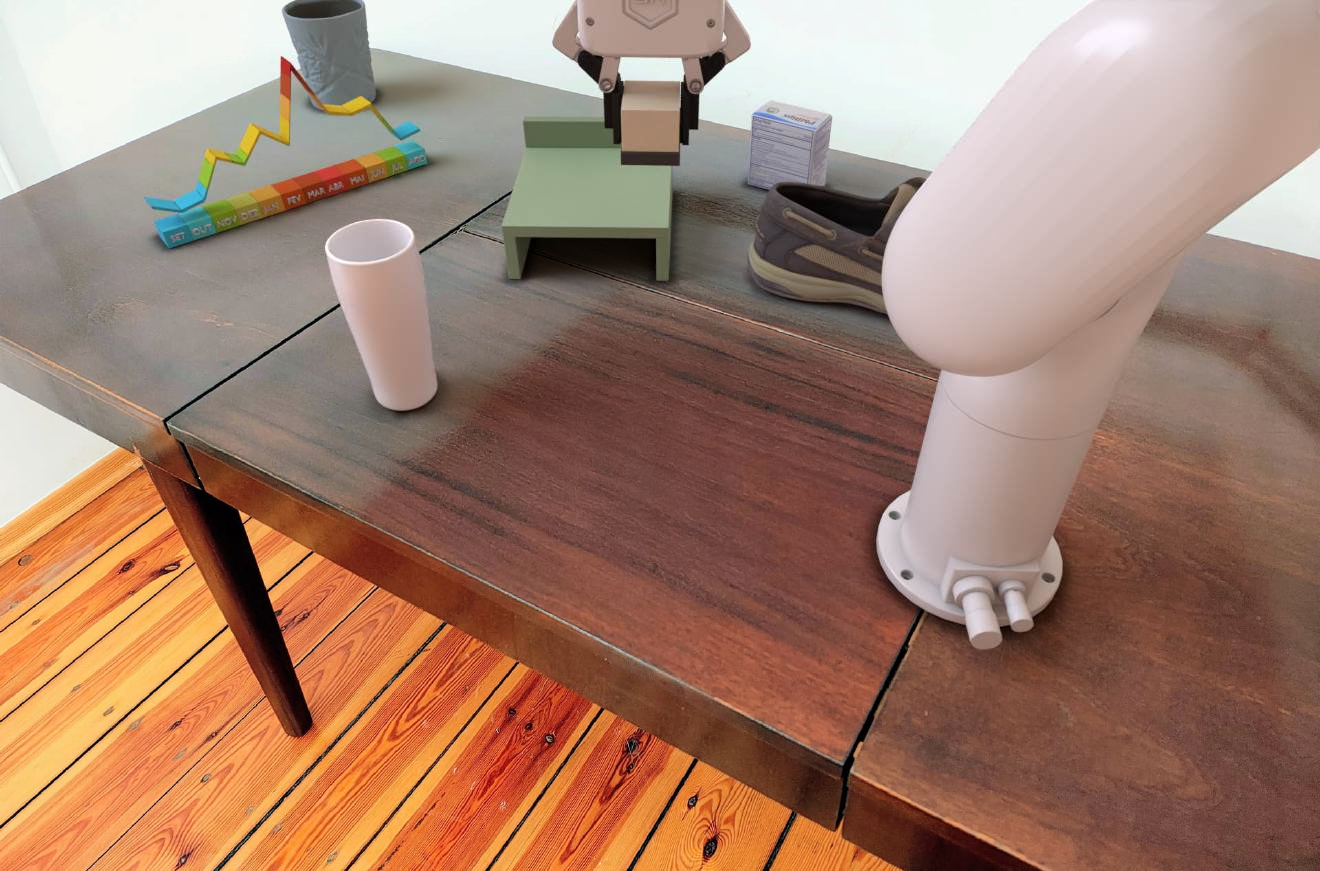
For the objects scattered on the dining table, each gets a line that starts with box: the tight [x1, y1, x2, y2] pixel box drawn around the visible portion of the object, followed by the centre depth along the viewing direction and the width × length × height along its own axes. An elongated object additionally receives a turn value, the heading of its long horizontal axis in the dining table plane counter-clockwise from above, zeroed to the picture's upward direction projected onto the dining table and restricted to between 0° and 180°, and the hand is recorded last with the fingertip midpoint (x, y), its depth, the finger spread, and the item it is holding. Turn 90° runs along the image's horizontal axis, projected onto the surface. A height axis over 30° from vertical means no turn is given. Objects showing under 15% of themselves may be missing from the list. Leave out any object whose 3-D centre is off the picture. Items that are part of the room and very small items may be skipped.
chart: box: [143, 55, 428, 249], centre depth 101 cm, size 30×3×15 cm, turn 129°
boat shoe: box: [746, 176, 927, 316], centre depth 87 cm, size 11×29×11 cm, turn 78°
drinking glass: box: [324, 218, 439, 412], centre depth 75 cm, size 7×7×15 cm
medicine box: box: [747, 100, 833, 191], centre depth 104 cm, size 8×4×9 cm, turn 58°
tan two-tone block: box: [621, 79, 681, 167], centre depth 71 cm, size 8×4×4 cm, turn 179°
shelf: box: [501, 116, 674, 282], centre depth 96 cm, size 18×16×9 cm
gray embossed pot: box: [281, 0, 377, 111], centre depth 122 cm, size 10×10×12 cm
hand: (651, 134), depth 72 cm, fingers closed on tan two-tone block, 4 cm apart
